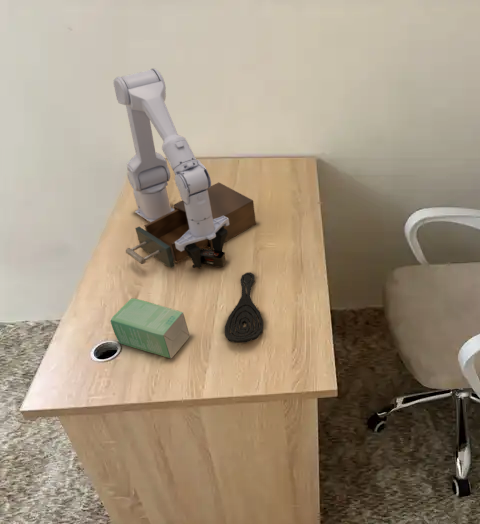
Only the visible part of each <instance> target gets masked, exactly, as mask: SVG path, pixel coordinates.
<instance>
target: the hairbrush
mask: <svg viewBox="0 0 480 524" xmlns="http://www.w3.org/2000/svg"><path fill="white" fill-rule="evenodd" d="M255 277H256V276H255V274H254V273H252V272H249V271H248V272H245V273H244V274H242V275H241V277H240V286H241V295H240V298H239V300H238V303H237V304H236V305H235V306H234V308H233V310H232V311H231V312H230V313H229V316H228V317H227V320H226V323H225V325H224V337H225V338H226V340H227V342H230V343H235V344H246V343H249V342H252V341H255V340H257V339H259V337H260V336H261V335H263V333H264V332H263V331H264V319H263V317H262V314H261V311H260V310H259V307H257V304H255V303H254V300H252V297H251V295H252V288H253V287H254V284H255V282H256V281H255V280H256V278H255ZM244 324H245V326H244Z"/></svg>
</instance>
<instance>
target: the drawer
mask: <svg viewBox="0 0 480 524" xmlns="http://www.w3.org/2000/svg"><path fill="white" fill-rule="evenodd" d="M134 229H135V232H136V237H137V240H138V243H139V244H137V245H135V246H133V247H131V248H130V247H127V248H126V249H125V254H127V255H128V256H130V257H131V258H132V259H134V260H135V261H137V262H138V263H139V264H141V265H145V263H146V261H148V260H150V259H151V258H153V257H154V258H155V259H157V261H159V262H160V263H162V264H164V265H165V266H167V267H168V268H169V269H173V268H174V267H175V263H179V262H181V261H182V260H185V259H186V258H189V257H190V256H189V255H188V254H187V252H186V251H185V250H183V251H179V250H178V249H176V246H175V241H177V240H178V239H180V238H181V237H182V236H183V235H184V234H185V233H186V232H187V231H188V230H189V224H188V219H187V215H186V214H185V213H184V212H182V211H180V210H179V209H176V210H174V211H172V212H170V213H168V214H166V215H164V216H162V217H160V218H158V219H156V220H154V221H152V222H148V223H146V224H144V228H143V227H141V226H137V227H135V228H134ZM195 244H196V246H197V247H199V248H200V249H205V247H207V245H209V244H210V242H209V239H205V240H201V241H198V242H195ZM138 249H142V250H144V251H145V252H146V253H148V255H146V256H145V257H143V256H142V255H140V254H139V253H137V252H136V251H137V250H138Z"/></svg>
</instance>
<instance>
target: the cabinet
mask: <svg viewBox="0 0 480 524" xmlns="http://www.w3.org/2000/svg"><path fill="white" fill-rule="evenodd" d="M208 194H209V200H210V206H211V211H212V217H213V219H216V218H219V217H221V216H225V217H227V218H229V225H228V226H225V225H224V228H225V229H226V230H227V231H228V235H227V237H226V239H225V241H224V243H226V242H227V241H229V240H231V239H233V238H235V237H236V236H238V235H240V234H241V233H243V232H244V231H245V232H246V230H248V229H251V228H252V227H253V226H255V225H257V221H256V213H255V204H254V200H253V198H252V199H251V198H250V197H248V196H246V195H244V194H242V193H240V192H238V191H236V190H235V189H233V188H231V187H229V186H227V185H225V184H223V183H221V182H219V181H218V182H217V183H214V184H211V187H210V188H208ZM173 209H174V210H176V209H179V210H180V211H182V212H184V213H185V214H186V210H185V205H184V201H183V200H182V199H181V200H180V201H178V202H176V203H174V204H173ZM209 242H210V244H209V245H207V246H206V247H207V248H208V249H210V250H214V249H213V244H212V240H209Z"/></svg>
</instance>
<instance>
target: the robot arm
mask: <svg viewBox="0 0 480 524" xmlns="http://www.w3.org/2000/svg"><path fill="white" fill-rule="evenodd" d="M113 87H114V92H115V97H116V100H117V102H118V104H120V105H123V106H125V109H126V113H127V117H128V124H129V128H130V132H131V136H132V142H133V147H134V152H135V154H134V156H132V157H131V158H130V159H129V161H128V162H127V163H126V176H127V180H128V182H129V184H130V186H131V187H132V189H133V191H132V193H133V197H134V200H135V204H136V208H137V209H136V210H135V211H134V213H135V214H137V215H138V216H140V217H141V218H143V219H145V220H146V221H147V222H148V223H150V222H152V221H154V220H156V219H158V218H160V217H162V216H164V215H166V214H168V213H170V212H172V211H174V207H172V206H171V203H170V198H169V193H168V189H167V187H168V186H169V184H168V182H170V180H171V176H172V175H171V170H170V168H169V166H170V167H171V169H172V171H173V173H174V182H175V185H176V188H177V191H178V192H179V197H180V199H181V201H182V200H183V201H184V205H185V210H186V215H187V219H188V224H189V230H188V231H187V232H186V233H185V234H184V235H183V236H182V237H181V238H180V239H178V240H177V241H175V246H176V249H178V250H179V251H183V250H185V251H186V252H187V254H188V255H189V256H188V257H189V258H190V260H191V261H192V263H193V265H195V266H196V267H195V268H197V267H198V268H197V269H201V268H202V267H201V265H202V264H201V259H200V251H201V249H200V248H199V247H197V246H196V244H195V242H198V241H201V240H205V239H209V240H212V244H213V249H212V250H217V251H223V249H224V244H225V242H224V241H225V239H226V237H227V235H228V231H227V230H226V229H225V228H224V225H225V226H228V225H229V218H227V217H225V216H221V217H219V218H216V219H213V217H212V211H211V206H210V200H209V194H208V188H210V187H211V186H212V180H211V176H210V173H209V172H208V169H207V168H206V166H205V165H204V164H203V163H202V162H201V160H200V159H197V158H196V156H195V153H194V152H193V150H192V148H191V146H190V144H189V142H188V140H187V139H186V137H184V136H182V135H179V133H178V132H177V129H176V127H175V125H174V122H173V120H172V117H171V115H170V112H169V110H168V107H167V106H166V102H165V101H166V97H167V93H166V91H167V90H166V88H167V87H166V83H165V80H164V77H163V75H162V73H161V72H160V71H159V70H158V69H157V68H154V67H153V68H150V69H147V70H143V71H139V72H134V73H131V74H127V75H122V76H116V77H115V78H114V79H113ZM151 124H152V125H153V127H154V130H156V132H157V134H158V135H159V137H160V138H161V140H162V141H163V143H162V146H161V151H162V153H163V154H164V156H165V157H164V156H163V154H161V153H160V152H156V148H155V142H154V141H155V140H154V137H153V131H152V125H151ZM168 165H169V166H168Z"/></svg>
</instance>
